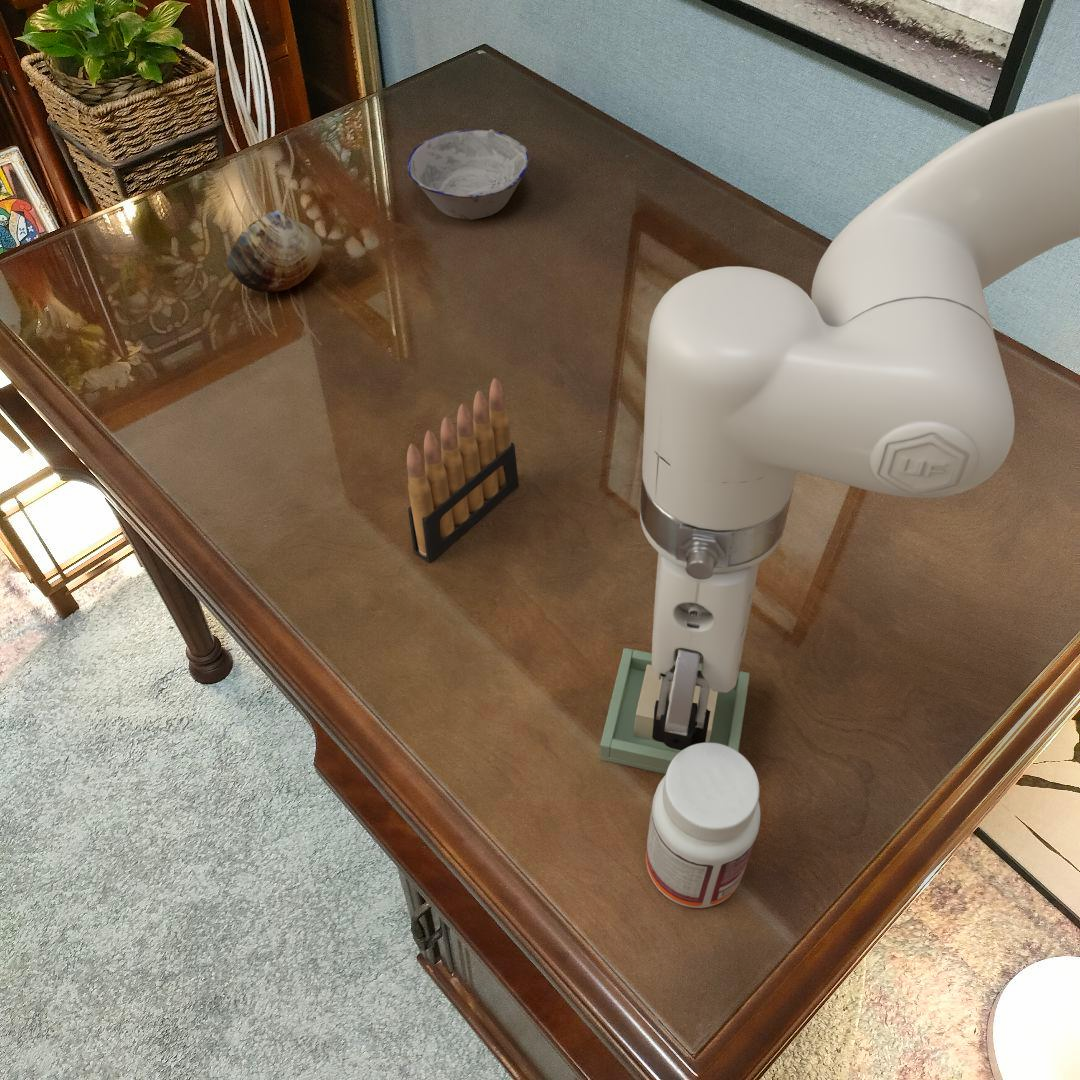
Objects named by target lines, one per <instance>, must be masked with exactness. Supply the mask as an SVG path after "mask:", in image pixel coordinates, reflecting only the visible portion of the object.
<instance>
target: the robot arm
mask: <svg viewBox="0 0 1080 1080" xmlns="http://www.w3.org/2000/svg"><path fill="white" fill-rule="evenodd" d="M1078 238H1080V92H1077V93H1075V94H1072V95H1068V96H1066V97H1062V98H1059V99H1055V100H1050V101H1048V102H1044V103H1042V104H1037V105H1034V106H1030V107H1028V108H1025V109H1023V110H1020V111H1017V112H1014V113H1011V114H1009V115H1007V116H1005V117H1002V118H1000V119H998V120H995V121H993V122H991V123H989V124H986V125H984V126H983V127H981V128H979V129H977V130H976V131H973V132H971V133H970V134H968V135H966V136H965V137H963V138H961V139H960V140H958V141H956V142H955V143H953V144H952V145H950V146H949V147H947V148H946V149H945V150H943V151H941V152H940V153H939V154H937V155H936V156H935V157H933V158H932V159H930V160H929V161H927V162H925V164H923V165H922V166H920V167H919V168H918V169H916V170H915V171H913V172H912V173H911V174H909V175H908V176H906V177H905V178H904V179H902V180H901V181H899V182H898V183H897V184H896V185H894V186H893V187H891V188H890V189H889V190H887V191H886V192H885V193H883V194H882V195H881V196H879V197H878V198H877V199H875V200H874V201H873V202H872V203H871V204H869V205H868V206H867V207H865V209H864V210H862V211H860V213H858V214H857V215H856V216H855V217H854V218H853V219H852V220H851V221H850V222H848V224H846V226H845V227H843V229H842V230H841V231H840V232H839V234H837V236H836V237H835V238H833V240H832V242H830V244H829V246H828V247H827V249H826V250H825V252H824V253H823V255H822V257H821V258H820V260H819V262H818V264H817V267H816V270H815V273H814V276H813V280H812V285H811V290H810V291H811V294H810V295H808V293H807V292H806V291H805V290H804V289H803V288H801V287H800V286H799V285H797V284H796V283H795V282H792V281H791V280H790V279H788V278H785V277H784V276H782V275H779V274H777V273H775V272H772V271H768V270H765V269H761V268H756V267H752V266H751V267H750V266H739V265H738V266H736V265H735V266H734V265H733V266H731V265H730V266H719V267H714V268H713V267H712V268H710V269H706V270H705V269H704V270H701V271H699V272H695V273H693V274H691V275H688V276H686V277H684V278H683V279H680V280H679V281H678V282H676V283H675V284H674V285H673V286H672V287H671V288H669V289H668V290H667V291H666V293H665V294H664V295H663V296H662V297H661V299H660V300H659V302H658V304H656V306H655V308H654V311H653V313H652V316H651V319H650V322H649V328H648V336H647V337H648V338H647V350H646V351H647V352H646V353H647V354H646V371H645V372H646V375H645V376H646V377H645V395H644V396H645V399H644V420H643V441H642V461H641V465H642V467H641V487H640V505H639V522H640V526H641V529H642V532H643V534H644V536H645V538H646V540H647V541H648V542H649V544H650V545H651V547H652V548H653V549H654V550H655V551H656V552H657V553H658V554H657V564H656V565H657V566H656V575H655V576H656V577H655V587H654V588H655V590H654V591H655V592H654V602H653V618H652V619H653V621H652V635H651V644H652V645H651V653H652V670H653V672H654V674H655V675H656V677H657V678H658V679H659V680H661V676H662V684H661V690H660V696H659V701H658V700H656V703H655V709H654V721H653V734H652V738H653V739H654V740H655V741H658V742H663V743H664V744H665V745H666V746H667V747H670V748H673V749H677V750H684V749H685V748H687V747H689V746H691V745H694V744H698V743H705V741H706V735H707V729H708V723H709V717H710V711H709V710H708V709H706V708H707V702H708V697H709V691H710V689H711V690H712V691H717V692H725V693H727V692H729V691H731V690H732V689H733V688H734V687H735V686H736V682H737V678H738V672H739V671H740V666H741V661H742V656H743V650H744V645H745V639H746V636H747V629H748V625H749V619H750V614H751V609H752V604H753V599H754V594H755V590H756V583H757V578H758V573H759V567H760V563H761V562H763V561H764V560H766V559H767V558H768V557H769V556H771V555H772V553H773V552H774V551H775V550H776V549H777V547H778V546H779V544H780V542H781V540H782V538H783V536H784V533H785V527H786V523H787V519H788V514H789V510H790V506H791V505H790V504H791V502H792V501H791V500H792V496H793V491H794V486H795V484H796V483H795V482H796V478H797V474H798V473H797V472H799V473H804V474H807V475H811V476H814V477H818V478H821V479H825V480H828V481H832V482H836V483H839V484H843V485H846V486H849V487H854V488H856V489H861V490H865V491H867V492H872V493H877V494H883V495H887V496H892V497H900V498H907V499H908V498H909V499H935V498H945V497H946V498H947V497H949V496H955V495H958V494H961V493H965V492H966V491H970V490H972V489H974V488H976V487H979V485H981V484H983V483H985V482H986V481H987V480H989V479H990V478H991V477H993V475H995V473H996V472H997V471H998V470H999V469H1000V468H1001V466H1003V464H1004V462H1005V460H1006V459H1007V457H1008V455H1009V453H1010V450H1011V448H1012V445H1013V442H1014V437H1015V427H1016V424H1015V423H1016V422H1015V410H1014V404H1013V398H1012V395H1011V394H1012V393H1011V390H1010V386H1009V383H1008V379H1007V376H1006V372H1005V368H1004V365H1003V362H1002V358H1001V353H1000V351H999V347H998V344H997V340H996V334H995V330H994V327H993V322H992V319H991V316H990V315H991V314H990V312H989V308H988V304H987V300H986V297H985V293H984V289H986V288H987V287H988V286H991V285H992V284H993V283H995V282H997V281H998V280H1000V279H1002V278H1003V277H1005V276H1006V275H1008V274H1009V273H1011V272H1013V271H1014V270H1016V269H1017V268H1020V267H1021V266H1023V265H1024V264H1026V263H1028V262H1030V261H1031V260H1033V259H1035V258H1036V257H1038V256H1040V255H1042V254H1044V253H1047V252H1048V251H1049V250H1052V249H1054V248H1055V247H1058V246H1060V245H1063V244H1065V243H1068V242H1070V241H1073V240H1075V239H1078ZM676 660H677V661H676ZM674 661H676V666H675V665H674ZM700 661H701V662H700ZM699 663H702V664H701V666H702V670H698V668H699ZM672 681H673V684H672ZM671 684H672V689H671ZM695 685H696V686H701V689H700V695H699V701H698V703H693V697H694V691H695ZM670 690H671V695H670ZM669 696H670V700H669ZM697 704H698V706H697Z"/></svg>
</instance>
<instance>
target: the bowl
mask: <svg viewBox="0 0 1080 1080" xmlns="http://www.w3.org/2000/svg"><path fill="white" fill-rule="evenodd" d="M528 153H529V149H528V148H527V147H526V146H525V145H523V144H521V143H520V142H519V141H518V140H517V139H514V138H513V137H511V136H510V135H507V134H505V133H503V132H502V131H495V129H491V128H490V129H489V130H484V129H469V130H468V129H467V130H455V131H449V132H443V133H439V134H438V135H434V136H432V137H430V138H428V139H426V140H424V141H423V142H422V143H420V144H419V145H417V146H416V147H413V150H412V152H411V153H410V154H409V157H408V160H407V165H406V166H407V167H406V168H407V173H408V175H409V177H410V179H411V180H412V181H413V182H414V183H415V184H416V185H417V186H418V187H419V188H420V189H421V190H422V191H423V193H424V194H425V195H426V196H427V198H429V200H430V201H431V203H432V204H433V205H434V206H435V207H436V208H437V209H438V210H439V211H440V212H441V213H443V214H444V215H446V216H448V217H451V218H454V219H459V220H479V219H483V218H487V217H490V216H493V215H495V214H497V213H498V212H500V211H502V209H504V208H505V207H506V205H507V204H508V203H509V200H510V199H511V197H512V196H513V194H514V192H515V191H516V189H517V187H518V186H519V184H520V182H521V180H522V179H523V177H524V176H525V174H526V173H527V171H528V169H529V164H530V157H529V156H530V155H529V154H528Z"/></svg>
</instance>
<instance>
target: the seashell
mask: <svg viewBox="0 0 1080 1080" xmlns="http://www.w3.org/2000/svg"><path fill="white" fill-rule="evenodd" d="M322 253H323V245H322V242H321V240H320V238H319V237H318V236H317V235H316V234H315V233H314V231H313V230H312V228H311V227H310V226H308V225H307V224H305V223H302V222H299V221H296V220H293V219H292V218H291V217H289V216H287V215H286V214H285V213H283V212H282V211H281V210H279V209H278V210H277V209H276V210H272V211H269V212H267V213H265V214H264V215H262V216H261V217H259V218H258V219H256V220H255V221H253V222H251V224H249V225H248V226H247V227H246V228H245V229H244V230H243V231H242V233H241V234H240V235H239V236H238V237H237V239H236V241H235V243H234V245H233V247H232V249H231V250H230V252H229V254H228V256H227V260H226V261H227V262H226V263H227V264H226V265H227V267H228V269H229V271H230V272H231V273H232V274H233V275H234V277H235V278H236V279H237V281H238V282H239V283H240V284H242V285H243V286H245V287H246V288H247V289H250V290H252V291H254V292H258V293H276V292H283V291H286V290H289V289H291V288H294V287H295V286H297V285H299V284H300V283H302V281H304V280H305V279H307V277H309V276H310V274H312V272H313V271H314V269H315V268H316V267H317V265H318V263H319V261H320V259H321V256H322Z"/></svg>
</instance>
